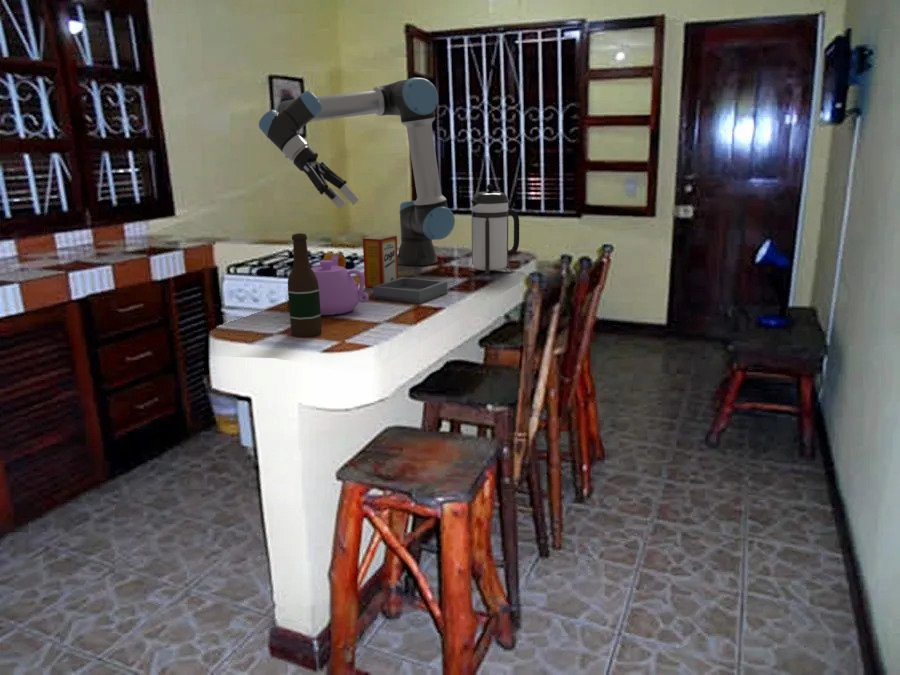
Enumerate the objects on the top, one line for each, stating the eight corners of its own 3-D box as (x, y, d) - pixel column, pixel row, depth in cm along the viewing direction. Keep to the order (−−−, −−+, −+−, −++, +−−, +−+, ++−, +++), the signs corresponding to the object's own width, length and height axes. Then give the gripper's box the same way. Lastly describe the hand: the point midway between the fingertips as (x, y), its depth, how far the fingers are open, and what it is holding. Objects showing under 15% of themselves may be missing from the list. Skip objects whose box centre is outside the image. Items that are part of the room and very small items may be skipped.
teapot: (375, 299, 203) (373, 252, 200) (364, 318, 182) (362, 266, 179) (300, 300, 204) (296, 253, 200) (281, 319, 183) (277, 266, 179)
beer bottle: (285, 337, 166) (276, 236, 159) (297, 328, 173) (289, 231, 166) (316, 338, 164) (309, 236, 158) (327, 329, 172) (320, 231, 165)
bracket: (338, 297, 207) (336, 257, 204) (319, 295, 211) (316, 256, 207) (359, 290, 216) (357, 252, 213) (340, 288, 220) (338, 250, 216)
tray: (403, 288, 219) (402, 277, 218) (447, 292, 211) (447, 281, 210) (373, 298, 205) (372, 286, 204) (419, 303, 198) (419, 291, 197)
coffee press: (509, 276, 234) (510, 185, 226) (463, 275, 238) (462, 185, 230) (519, 267, 250) (520, 182, 242) (475, 266, 254) (475, 182, 246)
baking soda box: (381, 282, 228) (379, 233, 224) (398, 284, 225) (396, 234, 221) (365, 288, 220) (362, 237, 215) (382, 289, 217) (380, 238, 213)
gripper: (308, 161, 229) (354, 208, 230) (276, 164, 205) (328, 216, 206) (322, 144, 226) (369, 192, 228) (292, 145, 203) (344, 198, 204)
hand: (349, 203), depth 217 cm, fingers open, 13 cm apart
